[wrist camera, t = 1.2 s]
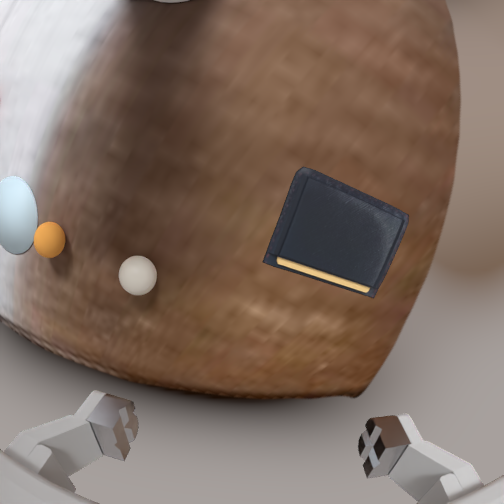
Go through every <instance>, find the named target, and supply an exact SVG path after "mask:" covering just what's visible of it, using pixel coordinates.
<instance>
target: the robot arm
mask: <svg viewBox="0 0 504 504" xmlns="http://www.w3.org/2000/svg"><path fill="white" fill-rule="evenodd" d="M155 1H159V2H168V3H173V2H183V1H188V0H155ZM134 410H135V406H134V402H133V401H130V400H127V399H124V398H120V397H117V396H114V395H110V394H106V393H103V392H100V391H97V390H95V391H92V392H91V394H90V395H89V396H88V398H87V399H86V400H85V401H84V403H83V404H82V405H81V407H80V408H79V409H78V411H77V412H76V413H75V414H74V416H72V415H68V416H65V417H63V418H60V419H57V420H54V421H51V422H49V423H46V424H43V425H40V426H37V427H34V428H31V429H27V430H24V431H21V432H20V433H19V434H18V436H17V437H16V438H15V439H14V440H13V441H12V443H11V444H10V445H9V446H8V447H7V448H6V450H5V451H4V452H3V451H2V450H1V449H0V504H99V503H96V502H94V501H91V500H89V499H87V498H84V497H82V496H80V495H77V494H75V493H74V492H75V490H76V488H75V486H74V485H73V483H72V482H71V480H70V479H69V478H68V476H70V475H72V474H74V473H75V472H77V471H79V470H80V469H82V468H84V467H86V466H87V465H89V464H91V463H92V462H94V461H95V460H97V459H99V458H100V457H102V456H103V455H106V456H109V457H112V458H115V459H119V460H122V461H125V459H126V457H127V455H128V453H129V451H130V445H129V443H130V442H132V441H134V440H135V438H136V435H137V432H138V418H137V416H136V415H135V414H134V413H133V412H134ZM365 427H366V429H367V430H366V431H364V432H363V433H362V434H361V436H360V438H359V443H358V451H359V454H360V457H362V458H363V459H364V460H365V462H364V464H363V467H364V471H365V474H366V477H367V478H373V477H380V476H385V475H388V477H390V479H392V480H393V481H394V482H395V483H396V484H397V485H399V486H400V487H401V488H402V489H403V490H405V491H406V492H407V493H408V494H409V495H411V496H412V497H413V498H414V499H415V500H417V501H418V503H417V504H504V475H502V476H501V477H499V478H497V479H495V480H494V481H492V482H490V483H488V484H486V485H485V486H484V485H483V483H482V481H481V480H480V478H479V476H478V474H477V473H476V471H475V469H474V468H473V466H472V464H470V463H468V462H466V461H464V460H462V459H460V458H458V457H457V456H455V455H453V454H451V453H449V452H447V451H445V450H443V449H442V448H440V447H438V446H436V445H434V444H432V443H431V442H429V441H423V439H422V437H421V435H420V433H419V432H418V430H417V428H416V426H415V424H414V423H413V421H412V419H411V417H410V416H409V415H408V414H407V413H404V414H398V415H391V416H384V417H376V418H370V419H369V420H368V421H367V423H366V425H365Z"/></svg>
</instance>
